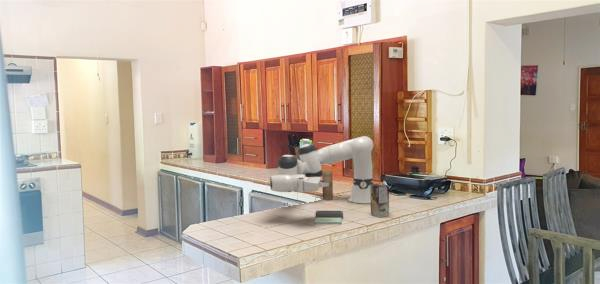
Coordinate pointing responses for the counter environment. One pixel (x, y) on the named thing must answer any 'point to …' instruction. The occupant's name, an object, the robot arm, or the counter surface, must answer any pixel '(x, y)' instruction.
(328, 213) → the pit tray
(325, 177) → the walnut column
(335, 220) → the board
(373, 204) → the coffee box
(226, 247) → the counter surface
